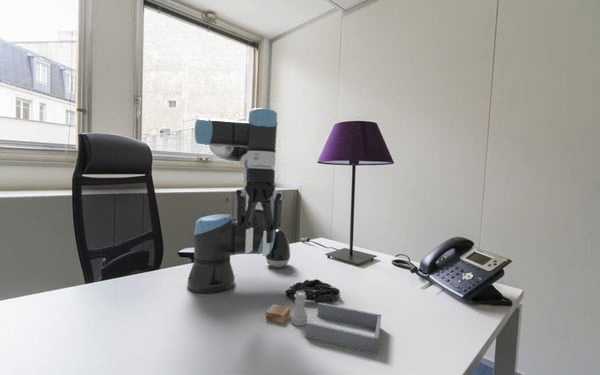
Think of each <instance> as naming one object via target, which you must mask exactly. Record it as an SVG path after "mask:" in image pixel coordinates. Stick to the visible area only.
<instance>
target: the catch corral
mask: <svg viewBox="0 0 600 375" xmlns="http://www.w3.org/2000/svg"><path fill="white" fill-rule="evenodd" d="M317 317H319V318H324V319H330V320H333V321H334V320H335V321H339V322H344V323H347V324H348V323H349V324H354V325H358V326H363V327H365V328H366V327H368V328H371V329H375V332H374V336H373V335H368V334H364V333H360V332H355V331H353V330H352V331H351V330H347V329H342V328H337V327H333V326H328V325H324V324H319V323H315V322H311V321H307V322H306V324H305V327H304V328H305V331H304V337H305V338H307V339H312V340H316V341H319V342H323V343H328V344H331V345H336V346H340V347H344V348H348V349H353V350H356V351H361V352H364V353H368V354H373V355H378V350H379V343H380V341H379V340H380V334H381V333H380V332H381V324H382V314H378V313H374V312H369V311H364V310H359V309H353V308H348V307H344V306H337V305H333V304H330V303H317Z"/></svg>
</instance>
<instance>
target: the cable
mask: <svg viewBox="0 0 600 375" xmlns="http://www.w3.org/2000/svg"><path fill="white" fill-rule="evenodd" d="M308 288H311V289H308ZM312 289H314V290H312ZM315 289H316V290H315ZM296 291H300V292H302V291H304V292H305V295H306V296H307V297H306V298H305V301H310V302H314V303H316V304H318V303H324V304H331V303H334V302H336V301H338V299H339V298H340V297H341V294H340V289H339V288H337V287H335V286H332V285H331V284H330V283H325V282H322V281H321V280H320V279H317V278H315V279H312V280H309V279H306V280H305V279H304V281H303V282H300V281H299V282H296V283H295V284H293V285H291V286H289V288H288V289H285V292H284V293H285V295H288V296H289V295H290V298H291V299H292V300H294V301H295V300H296V298H295V297H294V295H295V294H296ZM304 292H303V293H304Z"/></svg>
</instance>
